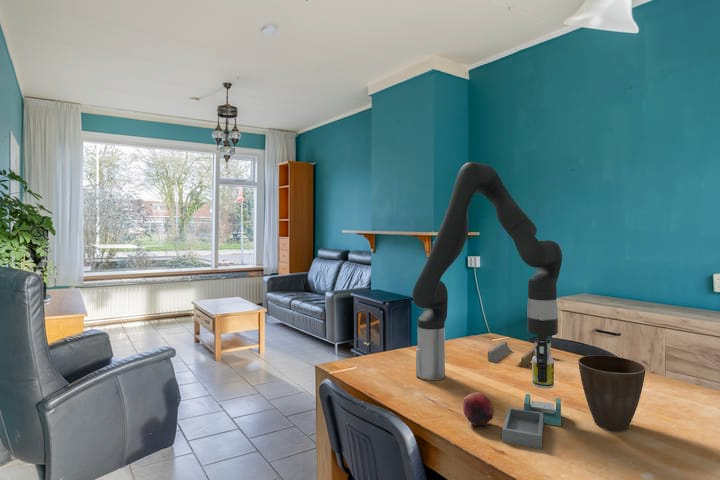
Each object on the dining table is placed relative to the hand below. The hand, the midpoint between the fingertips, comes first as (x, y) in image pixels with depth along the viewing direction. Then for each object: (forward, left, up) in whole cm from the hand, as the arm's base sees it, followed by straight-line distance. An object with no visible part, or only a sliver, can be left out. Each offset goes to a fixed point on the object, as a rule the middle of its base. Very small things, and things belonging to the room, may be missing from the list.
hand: (542, 378), depth 115 cm
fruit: (-15, -11, -11) cm, 22 cm away
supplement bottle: (0, 0, -2) cm, 2 cm away
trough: (-4, -11, -11) cm, 16 cm away
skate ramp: (-6, +51, -11) cm, 53 cm away
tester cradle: (0, 0, -11) cm, 11 cm away
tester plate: (0, 0, -8) cm, 8 cm away
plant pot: (+16, +2, -11) cm, 19 cm away
